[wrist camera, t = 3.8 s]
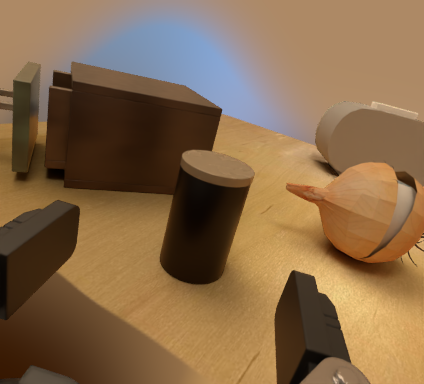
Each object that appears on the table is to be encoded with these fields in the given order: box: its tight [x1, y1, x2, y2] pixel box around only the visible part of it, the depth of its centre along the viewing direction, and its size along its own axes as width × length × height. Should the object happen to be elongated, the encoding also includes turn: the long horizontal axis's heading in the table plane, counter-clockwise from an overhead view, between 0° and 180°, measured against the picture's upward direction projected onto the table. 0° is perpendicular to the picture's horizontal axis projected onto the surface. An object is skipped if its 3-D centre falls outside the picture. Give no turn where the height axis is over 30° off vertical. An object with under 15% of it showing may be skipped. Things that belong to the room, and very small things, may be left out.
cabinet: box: [64, 62, 222, 194], centre depth 37 cm, size 14×13×10 cm
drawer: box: [0, 62, 72, 173], centre depth 34 cm, size 17×11×8 cm
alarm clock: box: [315, 101, 424, 187], centre depth 61 cm, size 21×10×13 cm, turn 88°
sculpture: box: [286, 162, 424, 265], centre depth 31 cm, size 9×9×15 cm
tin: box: [160, 150, 255, 284], centre depth 23 cm, size 5×5×8 cm
